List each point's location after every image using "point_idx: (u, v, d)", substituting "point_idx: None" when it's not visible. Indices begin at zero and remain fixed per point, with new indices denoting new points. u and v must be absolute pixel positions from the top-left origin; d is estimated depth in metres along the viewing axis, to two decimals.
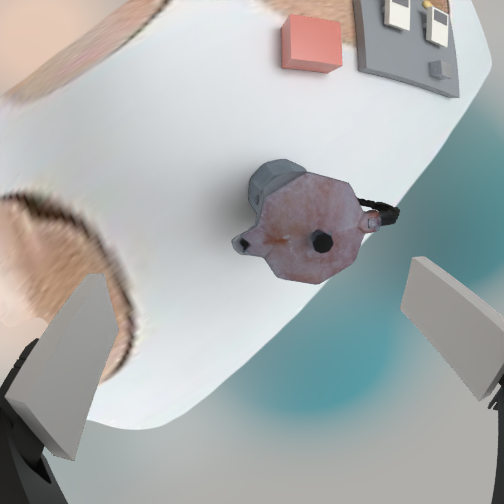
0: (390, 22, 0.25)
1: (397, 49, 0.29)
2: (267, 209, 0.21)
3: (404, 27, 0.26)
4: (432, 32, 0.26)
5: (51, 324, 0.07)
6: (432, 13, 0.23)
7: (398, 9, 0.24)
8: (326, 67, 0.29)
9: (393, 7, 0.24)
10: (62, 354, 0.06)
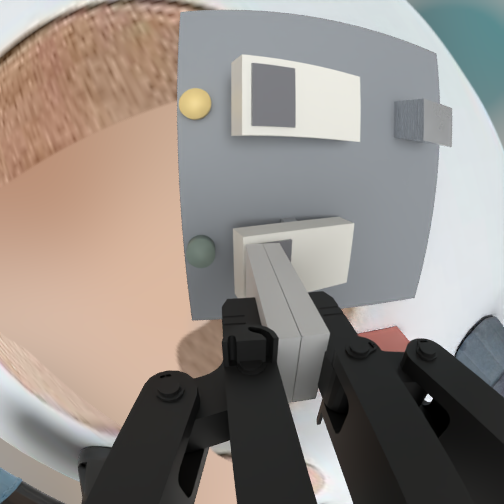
0: (344, 280, 0.16)
1: (381, 232, 0.17)
2: None
3: (349, 240, 0.15)
4: (338, 136, 0.13)
5: (254, 281, 0.10)
6: (270, 135, 0.11)
7: (305, 268, 0.15)
8: None
9: (304, 283, 0.15)
10: None
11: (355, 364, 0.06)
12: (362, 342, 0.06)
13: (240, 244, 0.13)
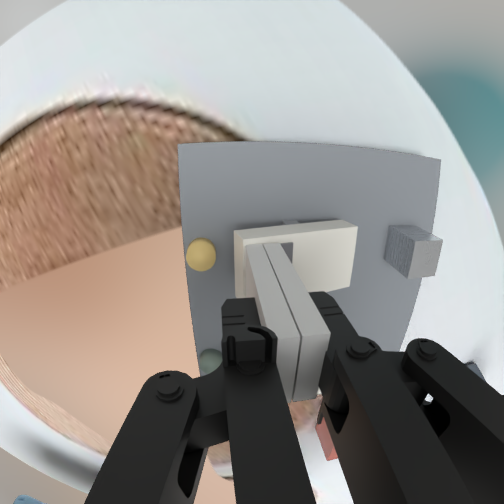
0: None
1: (363, 334, 0.20)
2: None
3: None
4: (329, 289, 0.15)
5: (254, 281, 0.10)
6: None
7: None
8: None
9: None
10: None
11: (355, 364, 0.06)
12: (363, 342, 0.06)
13: None
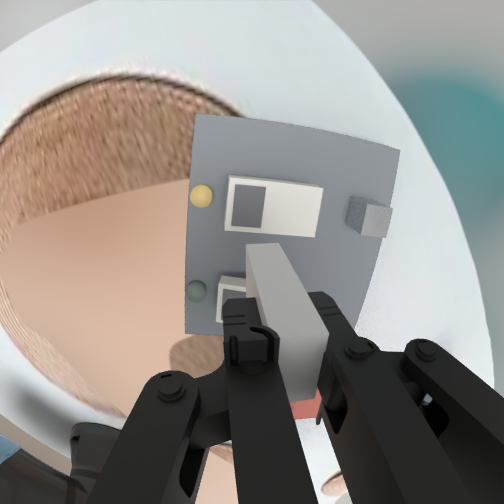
0: None
1: (326, 288, 0.25)
2: None
3: None
4: (295, 233, 0.20)
5: (255, 281, 0.10)
6: (243, 231, 0.20)
7: None
8: None
9: None
10: None
11: (354, 364, 0.06)
12: (361, 342, 0.06)
13: (218, 286, 0.22)
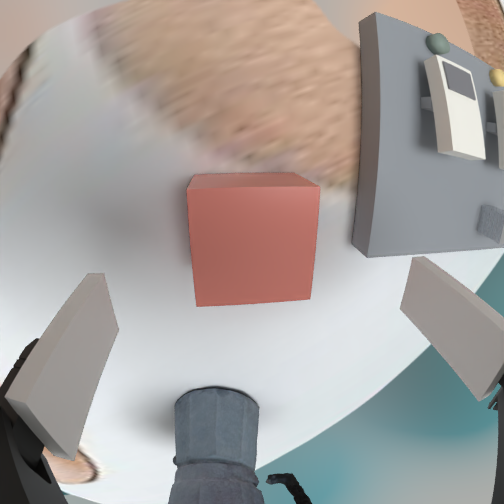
0: (454, 146, 0.12)
1: (436, 196, 0.17)
2: None
3: (477, 153, 0.13)
4: None
5: (51, 324, 0.07)
6: None
7: (461, 107, 0.12)
8: None
9: (453, 104, 0.12)
10: (62, 354, 0.06)
11: None
12: None
13: (464, 70, 0.12)
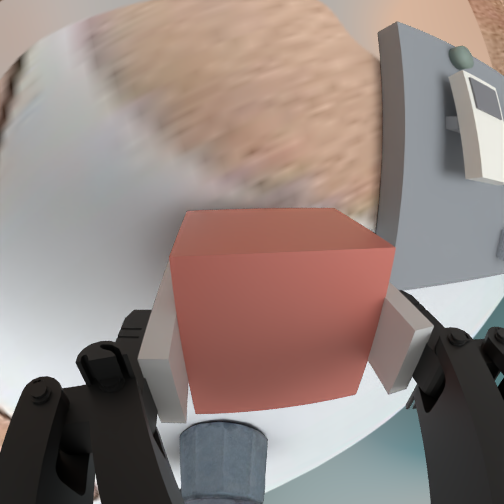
0: (484, 173, 0.11)
1: (458, 224, 0.15)
2: None
3: None
4: None
5: (158, 293, 0.09)
6: None
7: (489, 128, 0.11)
8: None
9: (481, 125, 0.10)
10: None
11: (454, 349, 0.06)
12: (461, 332, 0.06)
13: (489, 86, 0.11)
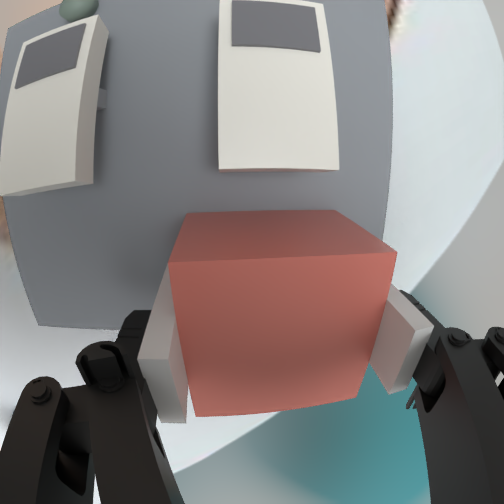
0: (1, 188, 0.07)
1: (98, 249, 0.12)
2: None
3: (51, 177, 0.07)
4: (223, 120, 0.08)
5: (158, 294, 0.09)
6: None
7: (31, 105, 0.06)
8: None
9: (15, 111, 0.06)
10: None
11: (455, 349, 0.06)
12: (461, 332, 0.06)
13: (90, 21, 0.06)
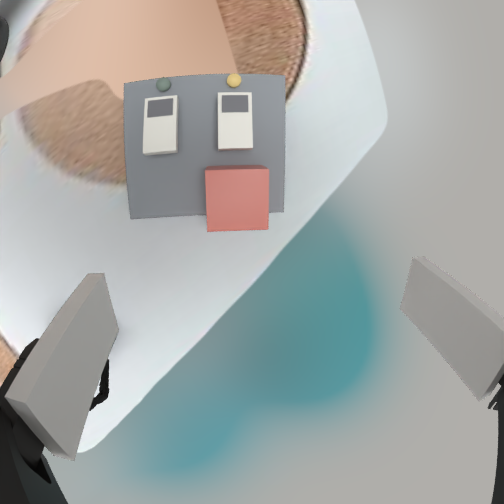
0: (144, 150, 0.27)
1: (170, 179, 0.32)
2: None
3: (167, 148, 0.27)
4: (219, 135, 0.28)
5: (51, 324, 0.07)
6: None
7: (156, 125, 0.27)
8: None
9: (149, 126, 0.27)
10: (62, 354, 0.06)
11: None
12: None
13: (173, 96, 0.27)
